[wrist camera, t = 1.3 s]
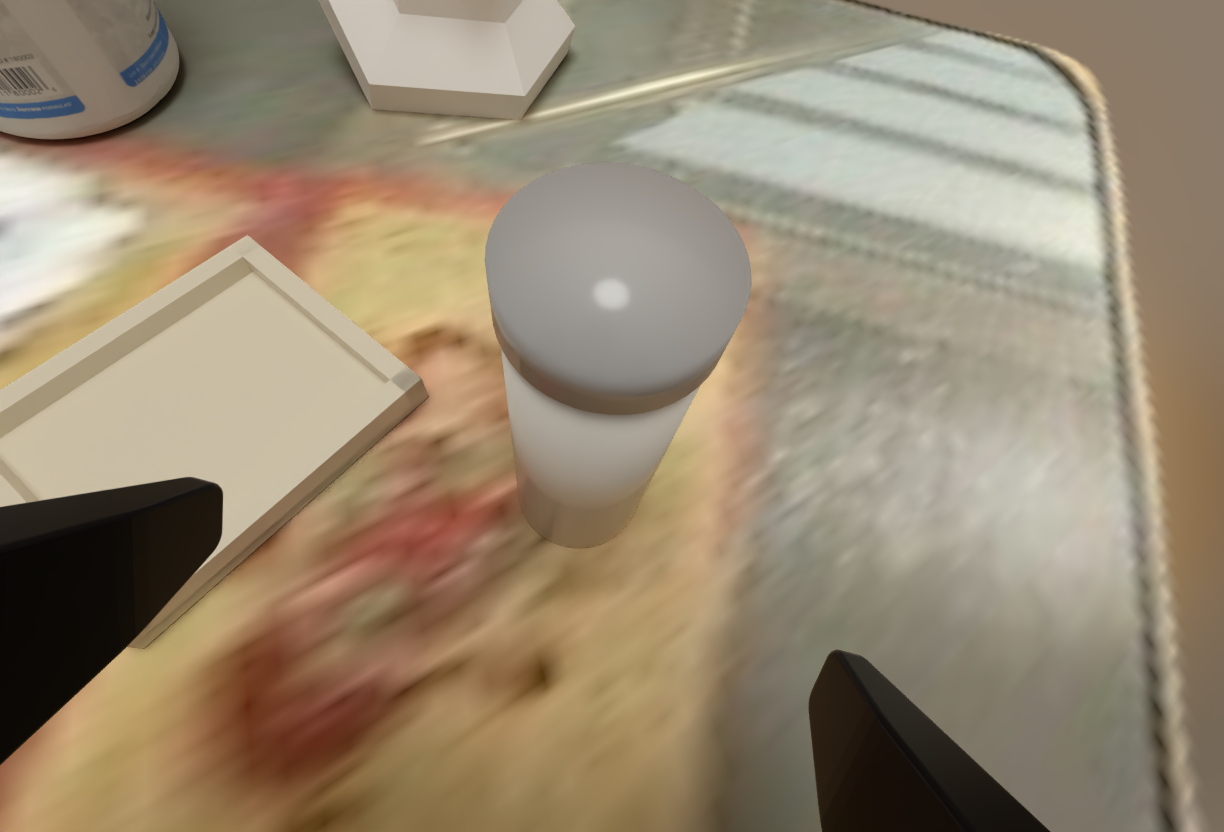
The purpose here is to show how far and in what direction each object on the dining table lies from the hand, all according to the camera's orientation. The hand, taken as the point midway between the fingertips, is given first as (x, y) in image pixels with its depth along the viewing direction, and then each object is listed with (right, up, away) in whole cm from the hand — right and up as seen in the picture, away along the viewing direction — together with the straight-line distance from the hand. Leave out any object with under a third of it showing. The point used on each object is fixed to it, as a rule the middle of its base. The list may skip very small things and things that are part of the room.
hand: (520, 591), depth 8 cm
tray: (-14, +2, +13) cm, 19 cm away
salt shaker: (0, 0, +14) cm, 14 cm away
